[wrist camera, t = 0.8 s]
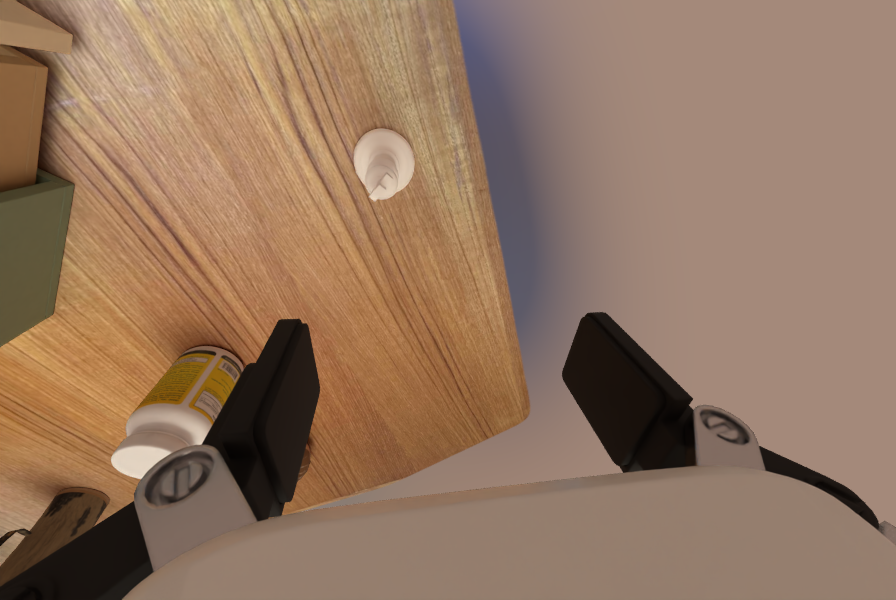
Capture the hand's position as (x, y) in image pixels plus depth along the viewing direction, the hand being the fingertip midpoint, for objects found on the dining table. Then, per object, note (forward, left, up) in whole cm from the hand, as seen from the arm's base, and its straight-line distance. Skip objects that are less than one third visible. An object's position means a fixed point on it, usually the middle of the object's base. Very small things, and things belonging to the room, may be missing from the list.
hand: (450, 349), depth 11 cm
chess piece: (-1, -4, -20) cm, 21 cm away
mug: (+57, -17, -20) cm, 63 cm away
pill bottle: (+27, -9, -20) cm, 35 cm away
